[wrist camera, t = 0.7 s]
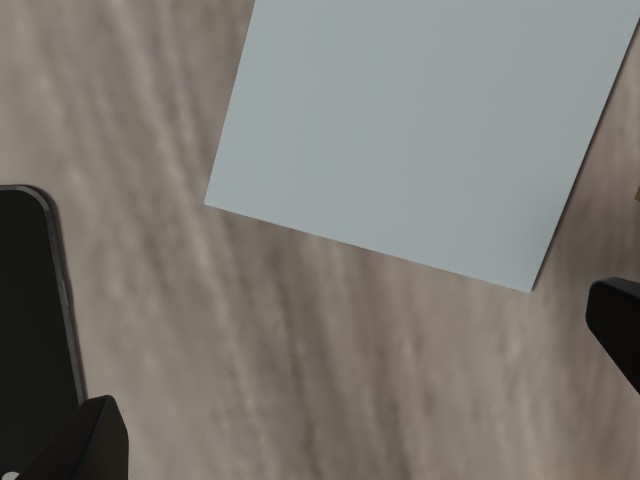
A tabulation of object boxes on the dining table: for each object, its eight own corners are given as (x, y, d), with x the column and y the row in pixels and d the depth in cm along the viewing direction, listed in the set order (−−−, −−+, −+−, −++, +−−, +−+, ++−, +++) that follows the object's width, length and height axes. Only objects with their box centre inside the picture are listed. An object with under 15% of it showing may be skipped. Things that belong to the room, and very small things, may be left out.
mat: (525, 290, 24) (529, 293, 24) (205, 202, 22) (203, 204, 21) (659, -49, 21) (667, -52, 21) (306, -196, 19) (307, -203, 18)
